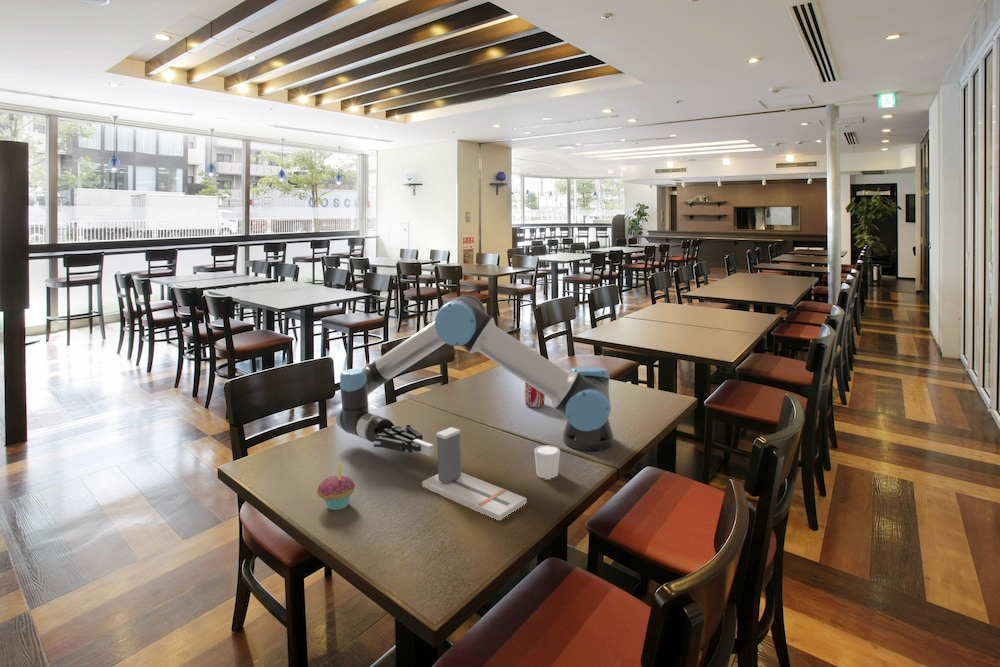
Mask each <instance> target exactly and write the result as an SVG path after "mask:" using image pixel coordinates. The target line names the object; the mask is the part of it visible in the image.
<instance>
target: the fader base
mask: <svg viewBox="0 0 1000 667" xmlns="http://www.w3.org/2000/svg"><path fill="white" fill-rule="evenodd" d="M421 484H422V488H424V487H425V488H424V489H426V488H427V489H426V490H428V489H429V490H428V491H431V492H433V493H435V494H437V493H438V495H439V494H440V496H442V497H444V498H446V499H449V500H451V501H453V502H456V503H457V504H459V505H461V506H464V507H466V508H468V509H471V510H473V511H475V512H477V513H479V512H480V513H479V514H482V515H484V514H485V515H484V516H486V515H487V516H486V517H488V516H489V518H490V517H491V518H490V519H493V518H494V519H493V520H495V519H496V520H495V521H497V520H499V521H500V520H501V521H503V520H504V519H505V518H504V517H506V516H507V517H509V516H510V515H509V514H511V513H512V512H514V511H515V512H517V511H518V510H520V509H521V508H523V507H524V506H526V505H527V504H526V503H528V500H527V499H528V498H527V497H525V496H523V495H520V494H517V493H515V492H512V491H510V490H508V489H506V488H505V489H504V488H502V487H500V486H496V485H494V484H492V483H489V482H487V481H485V480H481V479H479V478H478V477H474V476H472V475H469V474H467V473H464V472H462V471H461V477H460V478H458V479H456V480H454V481H452V482H450V483H448V484H446V483H444V482H441V481H439V474H438V473H437V474H434V475H432V476H430V477H427V479H424V480H423V481H421ZM525 504H526V505H525ZM523 505H524V506H523ZM522 506H523V507H522ZM520 507H521V508H520ZM519 508H520V509H519ZM517 509H518V510H517ZM516 510H517V511H516ZM515 512H514V513H515ZM512 514H513V513H512ZM512 514H511V515H512ZM508 515H509V516H508ZM507 517H506V518H507ZM503 518H504V519H503ZM502 519H503V520H502ZM499 521H498V522H499ZM501 521H500V522H501Z"/></svg>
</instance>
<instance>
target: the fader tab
mask: <svg viewBox="0 0 1000 667" xmlns="http://www.w3.org/2000/svg"><path fill="white" fill-rule="evenodd" d="M460 433H461V429H458V428H455V427H453V426H449V427H448V428H445V429H443V430H440V431H438V432H436V433H435V437H436V444H437V446H436V447H437V470H438V472H437V474H439V481H441V482H444V483H446V484H448V483H450V482H452V481H454V480H456V479H458V478H460V477H461V472H462V468H461V466H462V463H461V442H460V441H461V439H460V438H461V437H460V436H461V434H460Z"/></svg>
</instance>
